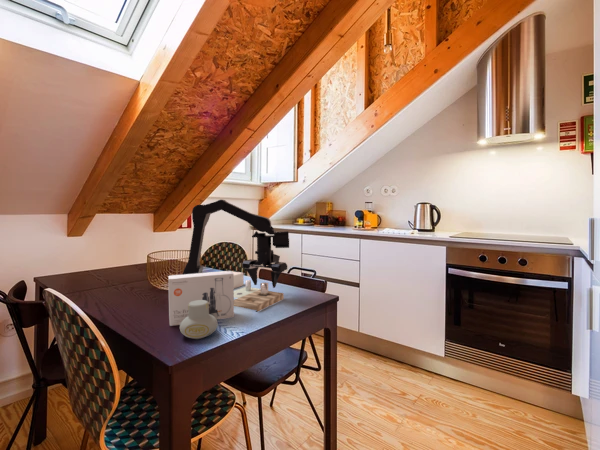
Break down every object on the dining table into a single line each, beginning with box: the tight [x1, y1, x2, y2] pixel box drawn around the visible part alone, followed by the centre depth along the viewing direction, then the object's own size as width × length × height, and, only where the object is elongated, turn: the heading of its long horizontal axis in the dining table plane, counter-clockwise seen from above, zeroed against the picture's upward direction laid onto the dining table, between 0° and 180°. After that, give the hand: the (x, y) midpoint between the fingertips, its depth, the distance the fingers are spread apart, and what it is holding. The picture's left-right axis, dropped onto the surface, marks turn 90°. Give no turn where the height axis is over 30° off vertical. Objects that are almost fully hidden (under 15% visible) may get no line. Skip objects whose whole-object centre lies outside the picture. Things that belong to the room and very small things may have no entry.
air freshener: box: [179, 300, 219, 340], centre depth 97 cm, size 11×8×10 cm
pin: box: [259, 282, 269, 296], centre depth 132 cm, size 3×3×7 cm
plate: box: [234, 279, 261, 299], centre depth 142 cm, size 16×11×5 cm
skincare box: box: [167, 270, 235, 327], centre depth 110 cm, size 21×5×16 cm, turn 114°
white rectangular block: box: [232, 271, 244, 289], centre depth 151 cm, size 12×7×6 cm, turn 150°
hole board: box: [234, 290, 285, 313], centre depth 128 cm, size 18×12×2 cm, turn 151°
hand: (264, 286), depth 132 cm, fingers open, 9 cm apart
